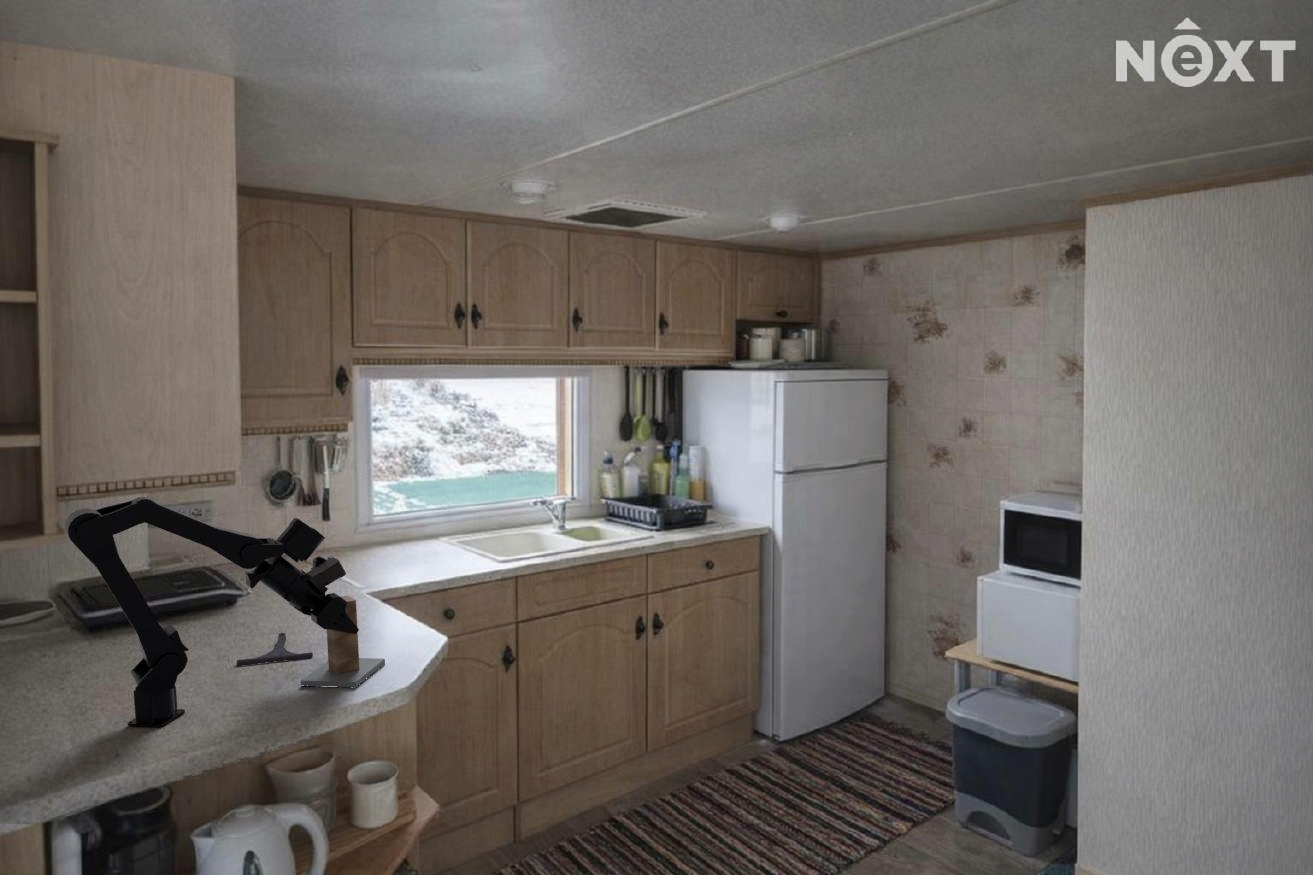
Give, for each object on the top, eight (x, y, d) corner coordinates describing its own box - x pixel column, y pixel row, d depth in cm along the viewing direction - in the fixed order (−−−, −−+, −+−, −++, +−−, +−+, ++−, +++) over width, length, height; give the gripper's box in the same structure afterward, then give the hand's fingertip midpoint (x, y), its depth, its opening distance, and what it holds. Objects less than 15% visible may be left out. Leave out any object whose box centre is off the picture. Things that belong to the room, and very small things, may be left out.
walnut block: (336, 675, 168) (332, 604, 167) (328, 668, 172) (325, 599, 171) (359, 669, 171) (356, 599, 170) (351, 663, 175) (348, 595, 174)
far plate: (355, 688, 165) (355, 682, 165) (301, 686, 166) (300, 680, 166) (385, 664, 178) (384, 658, 177) (333, 663, 179) (333, 657, 179)
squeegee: (317, 640, 196) (317, 627, 196) (312, 661, 182) (311, 648, 182) (247, 647, 192) (247, 635, 192) (236, 669, 178) (236, 656, 178)
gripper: (333, 554, 160) (394, 602, 167) (302, 539, 174) (359, 584, 182) (290, 604, 156) (355, 651, 163) (262, 584, 170) (323, 628, 178)
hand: (349, 626), depth 172 cm, fingers open, 9 cm apart
